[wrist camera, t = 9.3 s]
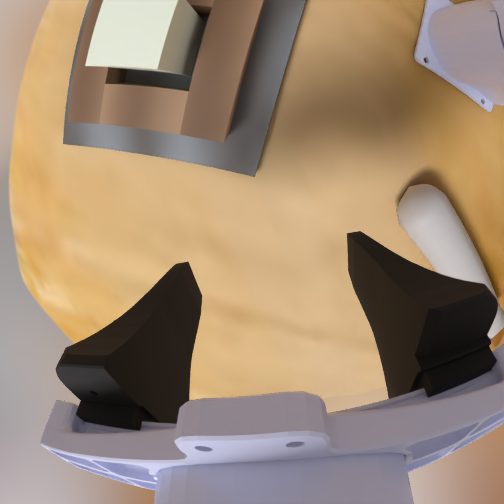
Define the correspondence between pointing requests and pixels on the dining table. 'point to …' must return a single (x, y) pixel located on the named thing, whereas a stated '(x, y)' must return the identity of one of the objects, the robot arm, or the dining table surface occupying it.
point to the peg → (146, 36)
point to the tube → (443, 239)
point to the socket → (190, 90)
